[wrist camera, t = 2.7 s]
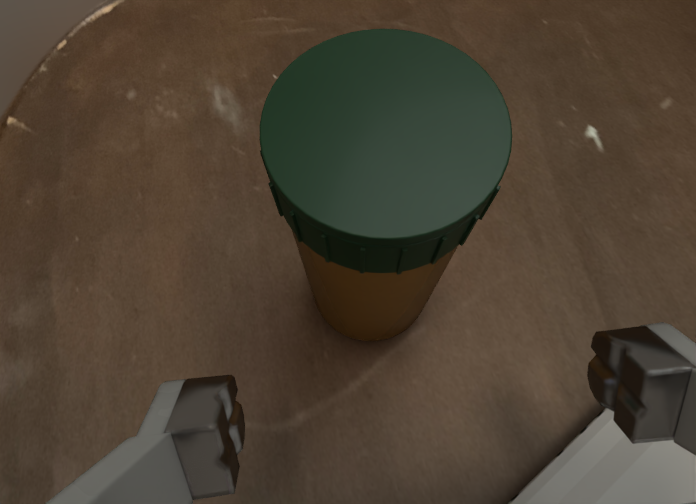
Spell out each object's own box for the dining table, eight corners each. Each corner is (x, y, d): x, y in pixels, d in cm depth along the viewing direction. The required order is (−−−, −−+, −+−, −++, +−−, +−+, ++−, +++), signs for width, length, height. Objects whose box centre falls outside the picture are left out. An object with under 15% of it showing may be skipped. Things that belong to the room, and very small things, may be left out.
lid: (406, 322, 11) (418, 297, 9) (229, 193, 13) (203, 145, 10) (527, 156, 13) (562, 102, 11) (358, 58, 14) (359, -8, 12)
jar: (382, 366, 21) (413, 292, 10) (288, 294, 22) (219, 155, 11) (450, 273, 22) (544, 116, 11) (358, 211, 24) (360, 15, 12)
